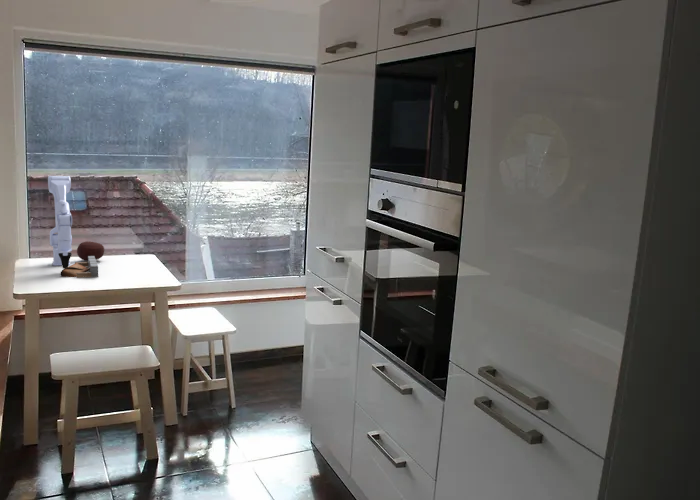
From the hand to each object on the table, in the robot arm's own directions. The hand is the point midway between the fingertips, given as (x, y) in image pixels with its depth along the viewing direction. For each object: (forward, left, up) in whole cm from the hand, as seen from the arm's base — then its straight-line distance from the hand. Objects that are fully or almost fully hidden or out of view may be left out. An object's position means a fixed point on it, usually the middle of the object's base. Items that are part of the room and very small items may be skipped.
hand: (65, 268), depth 298 cm
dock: (0, +9, -2) cm, 9 cm away
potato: (-26, +13, -2) cm, 29 cm away
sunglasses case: (+3, +5, -3) cm, 6 cm away
